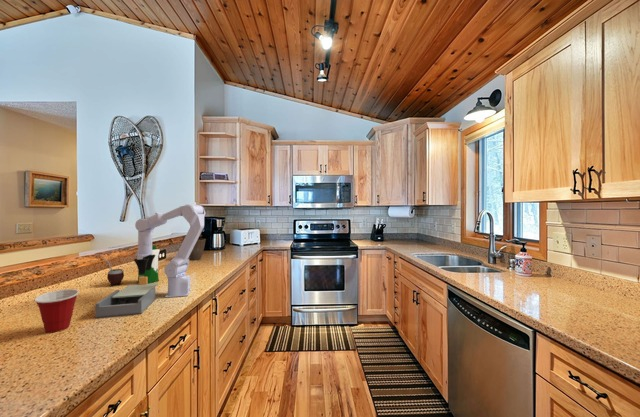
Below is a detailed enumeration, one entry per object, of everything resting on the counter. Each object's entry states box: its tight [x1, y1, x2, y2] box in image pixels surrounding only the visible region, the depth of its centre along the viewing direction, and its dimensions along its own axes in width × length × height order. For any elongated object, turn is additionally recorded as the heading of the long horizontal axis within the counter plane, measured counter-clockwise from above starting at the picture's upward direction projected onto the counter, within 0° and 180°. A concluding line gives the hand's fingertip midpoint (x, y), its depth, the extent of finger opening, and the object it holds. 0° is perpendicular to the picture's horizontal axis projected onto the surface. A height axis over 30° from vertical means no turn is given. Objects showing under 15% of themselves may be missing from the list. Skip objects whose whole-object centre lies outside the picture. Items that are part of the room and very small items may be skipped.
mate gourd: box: [101, 258, 125, 288], centre depth 139 cm, size 8×8×15 cm
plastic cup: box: [33, 288, 80, 334], centre depth 89 cm, size 11×11×12 cm
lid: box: [112, 277, 159, 298], centre depth 117 cm, size 12×17×4 cm
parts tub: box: [94, 287, 156, 319], centre depth 108 cm, size 15×17×5 cm
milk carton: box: [136, 244, 161, 284], centre depth 146 cm, size 9×9×20 cm
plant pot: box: [188, 238, 207, 261], centre depth 210 cm, size 15×15×16 cm
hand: (145, 271), depth 127 cm, fingers open, 7 cm apart
